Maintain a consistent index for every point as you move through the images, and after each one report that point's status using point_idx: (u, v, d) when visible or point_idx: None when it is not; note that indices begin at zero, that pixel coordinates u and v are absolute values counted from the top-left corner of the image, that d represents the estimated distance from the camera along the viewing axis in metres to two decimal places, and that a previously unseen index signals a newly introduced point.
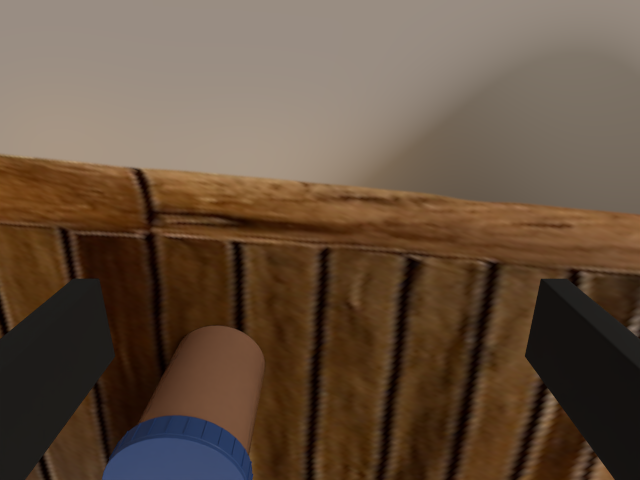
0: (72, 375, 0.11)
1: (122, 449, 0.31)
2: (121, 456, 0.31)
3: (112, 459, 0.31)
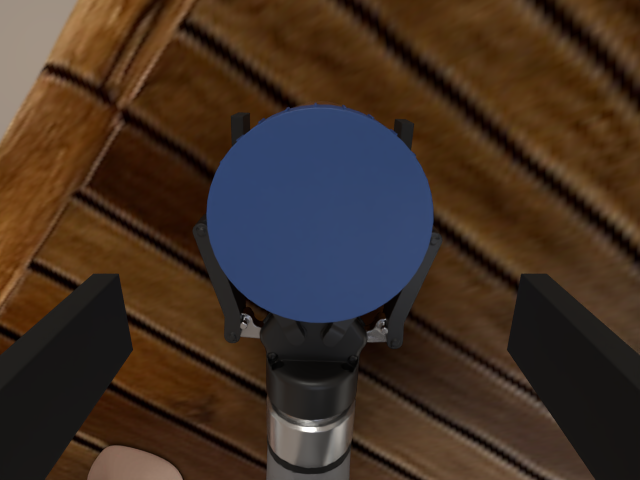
0: (95, 367, 0.11)
1: (208, 230, 0.21)
2: (217, 239, 0.21)
3: (215, 253, 0.21)
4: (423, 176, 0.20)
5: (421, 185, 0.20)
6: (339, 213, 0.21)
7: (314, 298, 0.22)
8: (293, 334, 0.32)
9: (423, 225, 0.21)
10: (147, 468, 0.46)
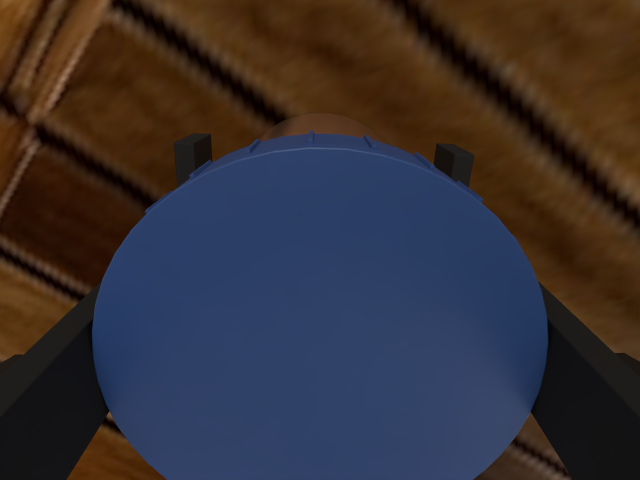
0: None
1: (100, 381, 0.11)
2: (119, 398, 0.11)
3: (118, 421, 0.11)
4: (535, 286, 0.10)
5: (529, 302, 0.10)
6: (359, 353, 0.10)
7: None
8: None
9: (525, 374, 0.11)
10: None
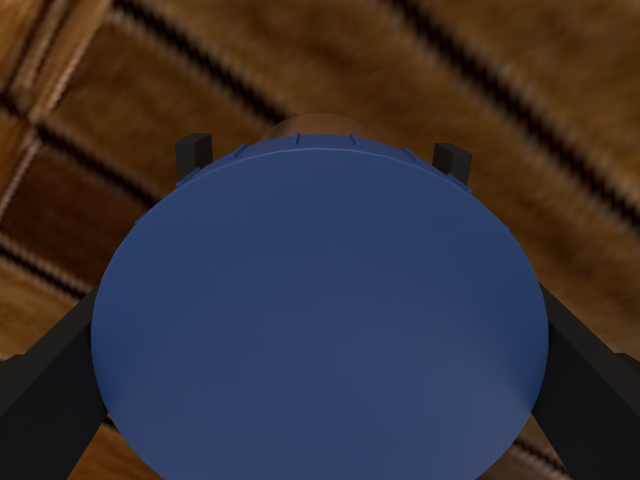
0: None
1: None
2: None
3: None
4: (340, 153, 0.09)
5: (357, 167, 0.09)
6: (318, 336, 0.10)
7: (444, 447, 0.11)
8: None
9: (445, 205, 0.09)
10: None
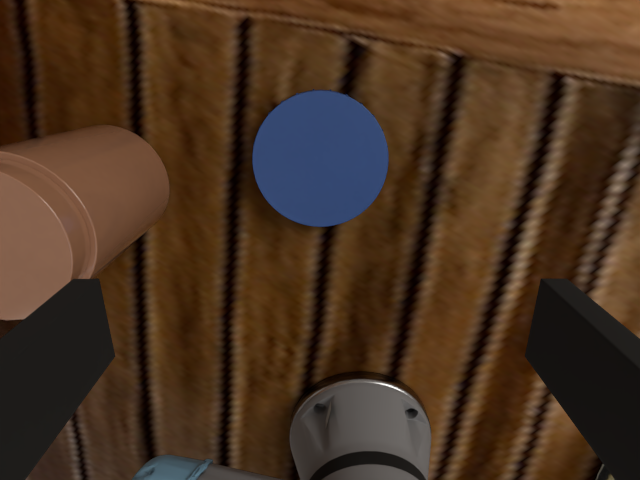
0: (72, 375, 0.11)
1: (289, 218, 0.37)
2: (297, 217, 0.37)
3: (303, 223, 0.37)
4: (325, 92, 0.33)
5: (330, 96, 0.33)
6: (319, 148, 0.34)
7: (359, 190, 0.36)
8: None
9: (354, 107, 0.33)
10: None
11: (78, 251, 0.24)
